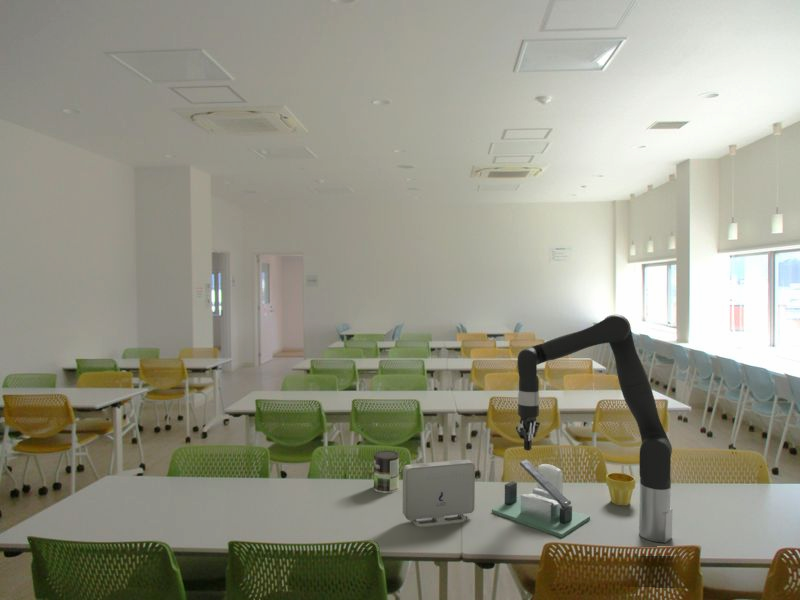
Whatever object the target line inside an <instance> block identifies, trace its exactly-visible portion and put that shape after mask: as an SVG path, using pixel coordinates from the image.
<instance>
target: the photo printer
mask: <svg viewBox="0 0 800 600" xmlns="http://www.w3.org/2000/svg"><path fill="white" fill-rule="evenodd" d="M537 470H538V471H539V472H540V473H541V474H542V475H543V476H544V477H545V478H546V479H547V480H548V481H549V482H550V483H551V484H552V485H553V486H554V487H555V488H556V489H557V490H558V491H559V492H560V493H561V494H562V495H563V494H564V493H563V481H564V480H563V478H564V477H563V476H564V475H563V471H562V470H561V469H560V468H558V467H557V466H555V465H552V464H549V463H548V464H547V463H542V464H539V465H538V467H537ZM536 485H537V487H536V488H539V489H542V490H545V489H544V488H543V487H542V486H541V485H540V484H539V483H538V482H537V484H536ZM545 491H546V490H545ZM563 496H564V495H563Z"/></svg>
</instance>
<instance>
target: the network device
mask: <svg viewBox="0 0 800 600" xmlns="http://www.w3.org/2000/svg"><path fill="white" fill-rule="evenodd" d="M475 471H476V465H475V464H474V462H472V461H471V460H469V459H457V460H447V461H444V460H443V461H436V462H425V463H423V462H422V463H412V464H405V465H404V466H403V467H402V514H403V516H404V518H406V520H408V521H412V523H413V524H414V525H415V526H417V527H420V528H424V527H434V526H435V527H436V526H441V525H442V526H443V525H448V524H449V525H450V524H459V523H463V522H465V521H466V520H467V519H466V516H465V515H467V514H472V513H474V511H475V506H476V505H475V501H476V500H475V499H476V497H475V494H476V493H475V492H476V491H475V490H476V489H475V487H476V486H475V485H476V484H475V483H476V481H475V479H476V477H475V476H476V472H475ZM456 515H457V516H459V517H460V518H461V519H453V520H452V519H451V520H447V519H445V517H448V516H456ZM432 518H433V519H434V521H435V522H428V523H419V522H418V520H422V519H423V520H425V519H432Z"/></svg>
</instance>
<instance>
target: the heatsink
mask: <svg viewBox="0 0 800 600" xmlns="http://www.w3.org/2000/svg"><path fill="white" fill-rule="evenodd" d="M517 488H518V482H516V481H513V480H512V481H509V482H508V483H506V484H504V503H505V504H506V505H511V504H513V503H515V502H517V497H518V494H517V493H518V489H517ZM520 495H521V513H523V514H526V515H529V516H532V517H535V518H537V519H540V520H543V521H546V522H549V523H551V522H553V521H555V520H557V519H558V518H560V523H562V524H566V523H568V522H570V521H571V520H572V511H573V506H572V505H568V506H567V507H565V508H562V507H561V505H560V504H559V503H558V502H557V501H556V500H555V499H554V498H553V497H552V496H551V495H550V494H549V493H548V492H547V491H545V490H542V489H539V488H537V487H534V488H532V492H530V493H528V494H526V493H522V494H520ZM563 496H564V497H565V498H566V496H565V495H563Z"/></svg>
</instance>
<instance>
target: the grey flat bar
mask: <svg viewBox="0 0 800 600" xmlns="http://www.w3.org/2000/svg"><path fill="white" fill-rule="evenodd" d="M519 465H520V466H521V467H522V468H523V469H524V470H525V471H526V472H527V473H528V474H529V475H530V476H531V477H532V478H533V479H534V480H535V482H537V484H538V483H539V484H540V485H541V486H542V487H543V488H544V489H545V490H546V491H547V492H548V493H549V494H550V495H551V496H552V497H553V498H554V499H555V500H556V501H557V502H558V503H559V504H560V505H561V507H562V508H565V507H567V506H568V505H569V506H571V504H572V501H571V500H568V498H566V496H565V495H562V494H561V493H560V492H559V491H558V490H557V489H556V488H555V487H554V486H553V485H552V484H551V483H550V482H549V481H548V480H547V479H546V478H545V477H544V476H543V475H542V474H541V473H540V472H539V471H538V468H536V467H535V466H534V465H533V464H532V463H531V462H530V461H529V460H528V459H523V460H522V461H520V462H519ZM564 496H565V497H564Z"/></svg>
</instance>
